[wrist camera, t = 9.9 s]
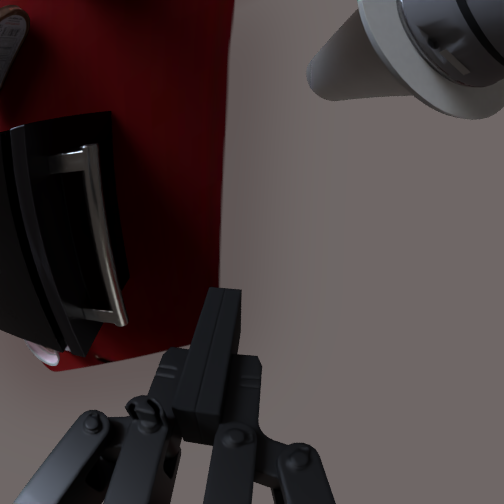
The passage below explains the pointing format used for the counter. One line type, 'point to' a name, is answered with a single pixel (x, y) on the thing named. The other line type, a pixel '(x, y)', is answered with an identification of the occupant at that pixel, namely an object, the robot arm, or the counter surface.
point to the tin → (11, 36)
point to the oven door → (73, 221)
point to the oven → (21, 268)
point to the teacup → (45, 353)
